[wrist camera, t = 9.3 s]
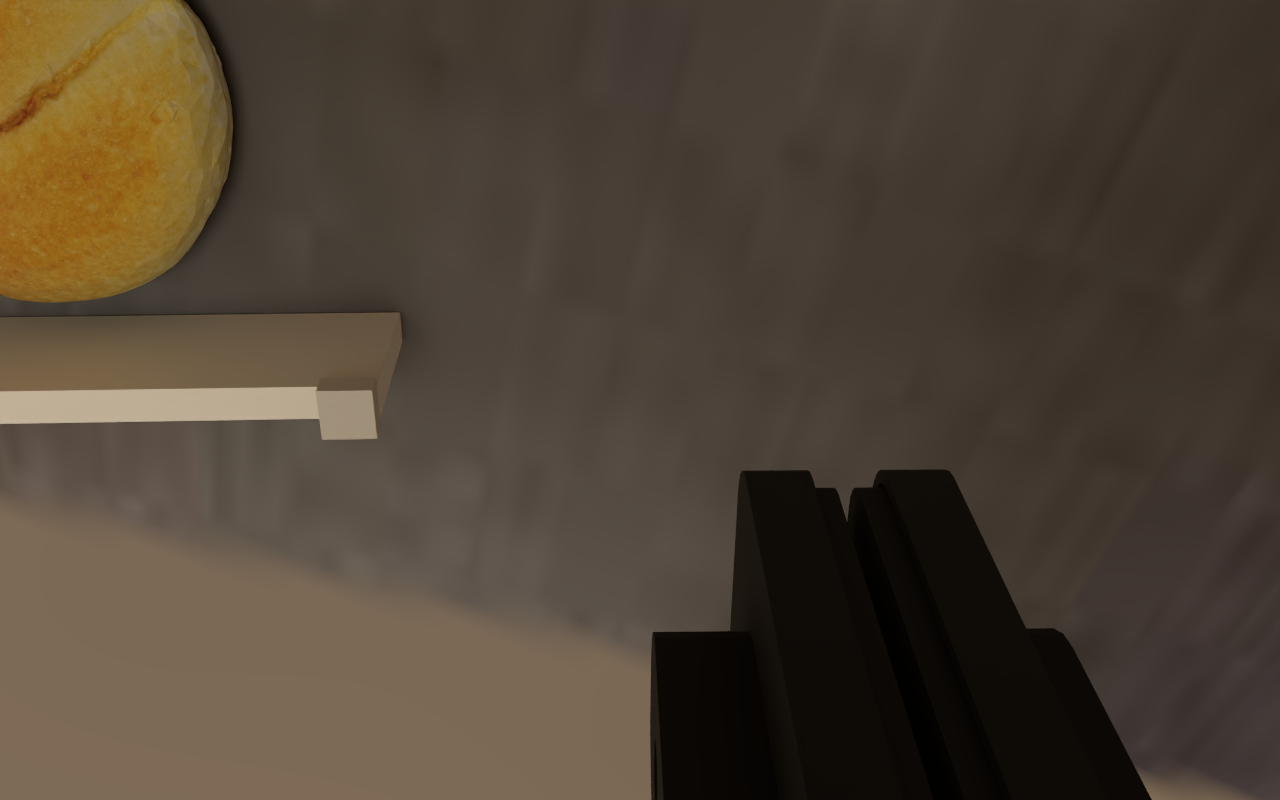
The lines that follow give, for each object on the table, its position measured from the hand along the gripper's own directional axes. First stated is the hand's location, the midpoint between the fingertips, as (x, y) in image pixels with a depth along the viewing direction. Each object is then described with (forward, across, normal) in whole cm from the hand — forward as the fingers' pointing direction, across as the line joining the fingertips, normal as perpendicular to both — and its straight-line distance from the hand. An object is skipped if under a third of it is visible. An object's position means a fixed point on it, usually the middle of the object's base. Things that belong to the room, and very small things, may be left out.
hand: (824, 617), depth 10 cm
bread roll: (+20, +15, 0) cm, 25 cm away
